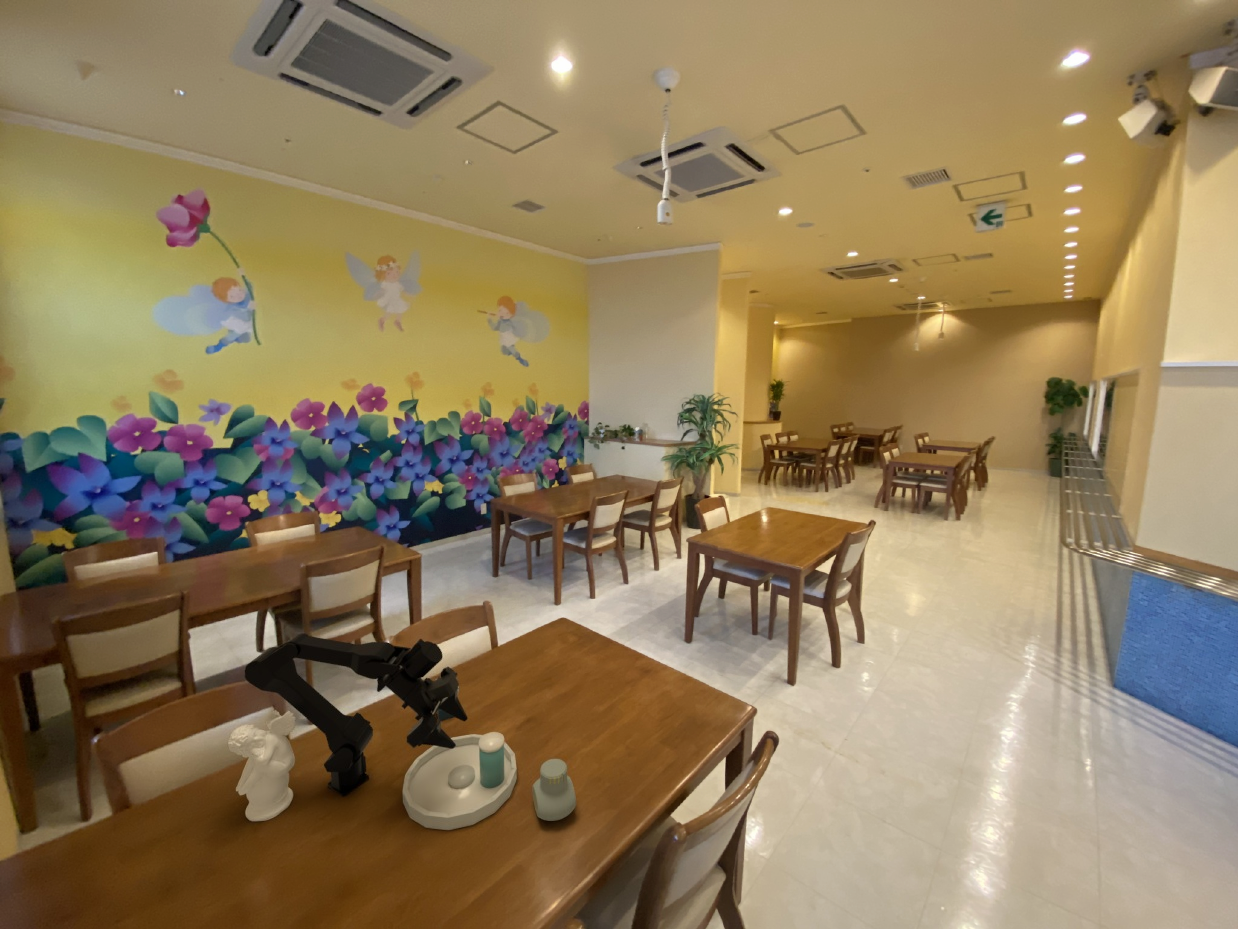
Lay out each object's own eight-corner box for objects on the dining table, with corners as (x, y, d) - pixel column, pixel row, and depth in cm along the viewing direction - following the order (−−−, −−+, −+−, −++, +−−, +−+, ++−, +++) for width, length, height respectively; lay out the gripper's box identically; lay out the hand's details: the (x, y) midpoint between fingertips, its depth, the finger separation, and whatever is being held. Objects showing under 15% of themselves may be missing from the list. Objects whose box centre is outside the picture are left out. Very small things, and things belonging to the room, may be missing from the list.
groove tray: (460, 849, 100) (459, 836, 99) (379, 799, 111) (378, 787, 111) (537, 767, 121) (537, 756, 121) (463, 733, 133) (462, 723, 133)
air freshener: (530, 794, 114) (530, 755, 112) (565, 784, 116) (565, 746, 115) (540, 833, 103) (540, 791, 102) (578, 822, 106) (578, 780, 105)
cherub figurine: (231, 828, 104) (218, 733, 100) (257, 783, 115) (246, 697, 112) (297, 815, 107) (286, 722, 103) (315, 772, 119) (306, 688, 115)
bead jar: (504, 787, 114) (503, 748, 113) (478, 790, 113) (477, 750, 112) (505, 768, 120) (504, 730, 118) (480, 771, 119) (479, 733, 117)
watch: (461, 714, 141) (460, 679, 139) (432, 723, 137) (430, 686, 135) (457, 703, 146) (456, 669, 144) (429, 712, 142) (427, 676, 140)
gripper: (419, 690, 103) (473, 739, 105) (448, 644, 121) (494, 686, 123) (383, 724, 104) (437, 772, 106) (417, 674, 122) (463, 715, 124)
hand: (460, 733), depth 115 cm, fingers open, 9 cm apart
